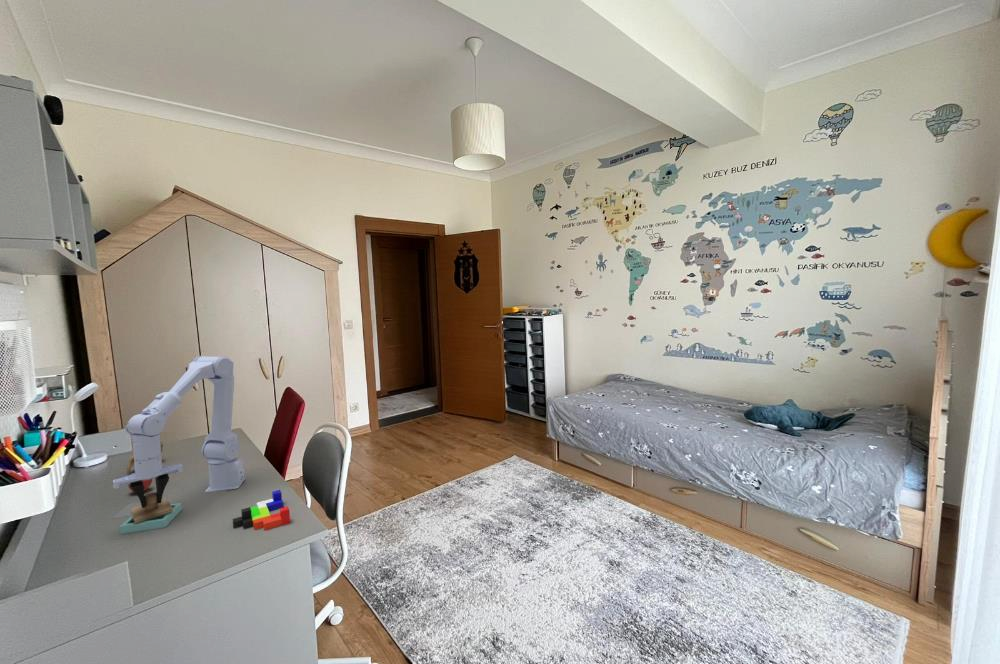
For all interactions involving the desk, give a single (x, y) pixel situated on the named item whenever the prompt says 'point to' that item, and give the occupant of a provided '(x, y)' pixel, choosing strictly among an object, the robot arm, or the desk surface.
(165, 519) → the dish
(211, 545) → the desk surface
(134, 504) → the mat
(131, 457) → the lion figurine
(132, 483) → the robot arm
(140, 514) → the lid
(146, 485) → the pomegranate
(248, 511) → the building blocks
